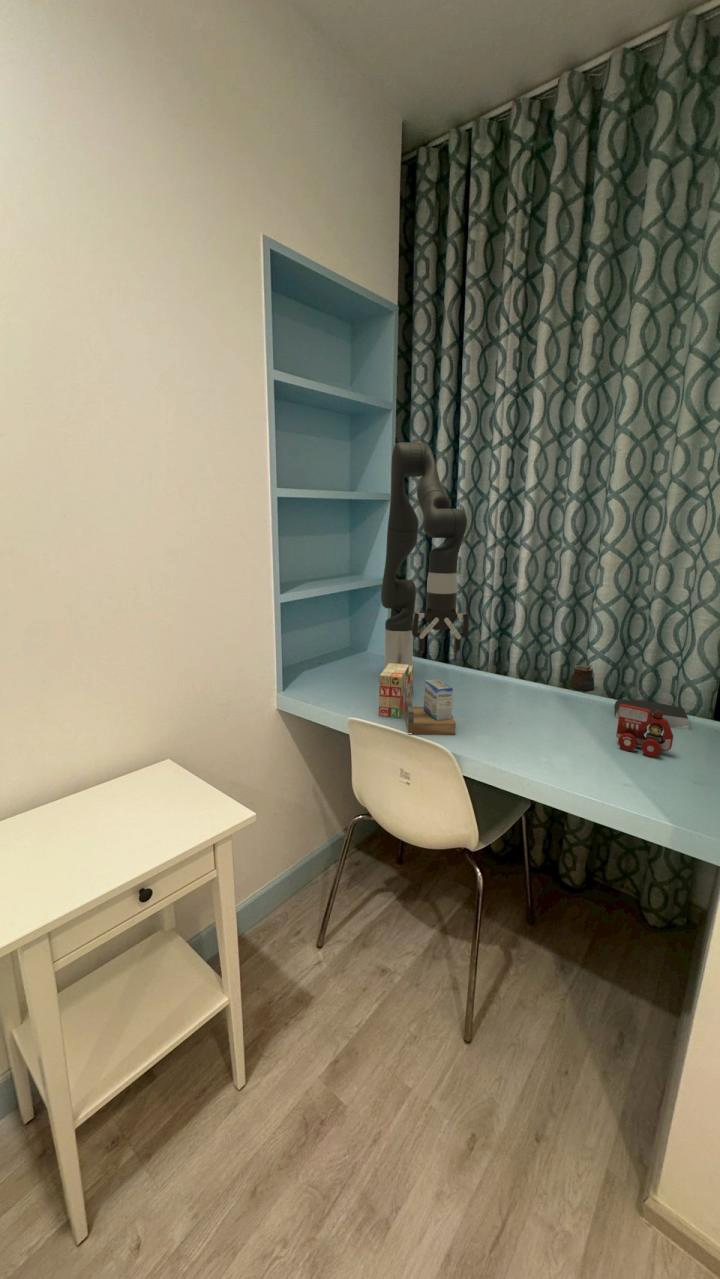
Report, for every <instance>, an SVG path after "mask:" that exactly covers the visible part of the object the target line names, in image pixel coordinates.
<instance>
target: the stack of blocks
mask: <svg viewBox="0 0 720 1279" xmlns="http://www.w3.org/2000/svg"><path fill="white" fill-rule="evenodd" d="M414 679H415V678H414V665H412V666H409V665H408V664H394V663H389V664H388V665H387V667H386V668H385V669H383V670H382V672H381V673H380V674H379V690H378V692H379V695H378V696H379V698H378V699H379V703H378V704H379V706H378V717H384V718H392V719H393V718H395V719H401V718H402V716H403V715H404V714H405V696H408V697H410V699H411V697H412V696H413V695H412V694H413V693H414Z"/></svg>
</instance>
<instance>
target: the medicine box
mask: <svg viewBox="0 0 720 1279" xmlns="http://www.w3.org/2000/svg"><path fill="white" fill-rule="evenodd" d="M453 692H454V688H453V687H452V686H450V685H448V684H447V683H445V682H443V681H441V680H440V679H427V680H425V681H424V692H423V693H424V694H423V707H424V708H423V710H424V711H425V712H426V713H427V714H429V715H430V716H431V717H433V718H434V719H435V720H437V721H439V720H447V719H451V714H452V712H453V695H454V693H453ZM452 715H453V714H452Z"/></svg>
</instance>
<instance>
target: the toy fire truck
mask: <svg viewBox="0 0 720 1279" xmlns="http://www.w3.org/2000/svg"><path fill="white" fill-rule="evenodd" d="M617 714H618V716H619V719H617V720H618V723H617V728H616V734H615V736H616V738H617V743H618V746H619V747H620V748H621V749H622V750H624V751H627V752H631V751H634V750H635V749H636V747H637V745H638V744H639V745H641V746H640V749H641V751H642V753H643V754H644V755H645V756H647V757H651V758H654V757H657V756H659V755H660V753H661V751H667V752H668V751H670V750H672V747H673V742H674V734H673V732H672V728H670V726H669V723H668V721H667V720H666V719H665V718H662V717H663V713H662V712H661V711H659V710H657V711H655V712H654V713H653V715H652V712H651V711H650V710H649V709H645V708H640V707H635V706H630V705H626V704H620V705H619V707H618V712H617ZM651 723H652V724H651ZM649 724H651V725H649ZM647 731H648V732H647Z"/></svg>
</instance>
